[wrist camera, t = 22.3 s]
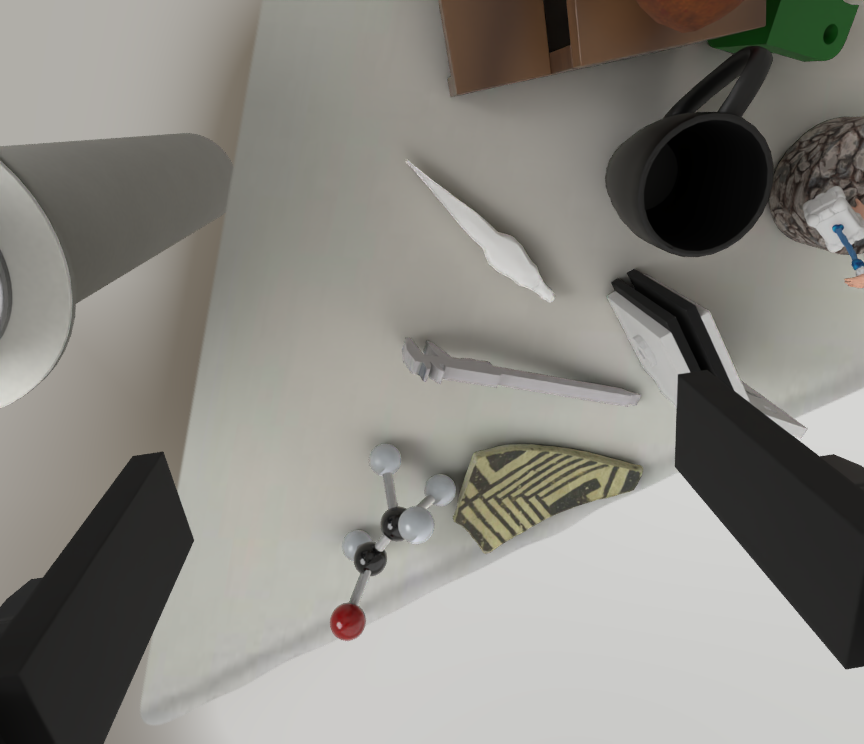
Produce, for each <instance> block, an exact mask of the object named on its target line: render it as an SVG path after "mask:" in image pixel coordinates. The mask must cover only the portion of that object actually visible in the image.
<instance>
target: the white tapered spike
mask: <svg viewBox="0 0 864 744" xmlns="http://www.w3.org/2000/svg"><path fill="white" fill-rule="evenodd" d="M406 163H407V164H408V165H409V166H410V167H411V168H412V169H413V170H414V171H415V172H416V174H417V175H418V176H419V177H420V178H421V179H422V180H423V181H424V183H425V184H426V185H427V186H428V187H429V189H430V190H431V191H432V192H433V194H434V195H435V196H436V198H437V199H438V200H439V201H440V202H441V203H442V204H443V205H444V206H445V208H446V209H447V210H448V211H449V213H450V214H451V215H452V217H453V218H454V219H455V220H456V221H457V223H458V224H459V225H460V226H461V227H462V229H463V230H464V231H465V232H466V233H467V234H468V235H469V236H470V237H471V238H472V239H473V240H474V241H475V242H476V243H477V244H478V245H479V246H481V247H482V248H483V251H484V255H485V257H486V260H487V262H488V264H489V265H490V266H492V267H493V268H494V269H495V270H496V271H497V272H498V273H500V274H502V275H505V276H507V277H508V278H510V279H512V280H514V281H515V283H516V284H517V285H519V286H524V287H526V288H528V289H530V290H533V291H534V292H536V293H537V294H538V295H539V296H540V297H541V298H542V299H544V300H546V301H547V302H552V301H554V299H555V294H554V293H553V292H552V289H551V288H550V287H548V286H547V285H546V284H545V282H544V281H543V280H542V278H541V276H540V274H539V272H538V267H537V265H536V264H534V263H533V262H532V261H531V260H530V258H529V256H528V255H527V253H526V251H525V249H524V247H523V246H522V245H521V244H520V243H519V242H518V241H517V240H516V239H515V238H514V237H513V236H511V235H508V234H505V233H500V232H497V231H496V230H495V229H494V228H493V227H492V226H491V225H490V224H489V223H488V222H487V221H486V220H485V219H484V218H483V217H481V216H480V215H479V214H478V213H477V212H475V211H474V210H473V209H471V208H470V207H469V206H467V205H466V204H465V203H463V202H462V201H460V200H459V199H458V198H456V197H455V196H453V195H452V194H451V193H450V192H448V191H447V190H446V189H445V188H443V187H442V186H441V185H439V184H438V183H436V182H435V181H433V180H432V179H431V178H429V177H428V176H427V175H426V174H424V173H423V172H422V171H421V170H419V169H418V168H417V167H416V166H414V165H413V164H412V163H411V162H410V161H409V160H406Z"/></svg>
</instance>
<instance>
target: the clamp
mask: <svg viewBox="0 0 864 744" xmlns="http://www.w3.org/2000/svg"><path fill="white" fill-rule="evenodd" d="M858 7H859V5H851V4H848V3H846V2H844V1H843V0H766V25H765V26H764V27H761V28H757V29H752V30H748V31H744V32H740V33H736V34H732V35H728V36H723V37H719V38H715V39H711V40H707V41H708V44H709V45H710V46H711V47H713V48H717V49H720V50H724V51H727V52H731V53H734V54H735V53H736V52H738V51H739V50H741V49H743V48H745V47H747V46H761V47H763V48H766V49H767V50H769V51H770V52H771V53H776V54H780V55H783V56H787V57H790V58H793V59H797V60H800V61H804V62H807V61H827V60H830V59H832V58H833V57H835V56H836V55H837V54H838V53H839V52H840V50H841V49H842V47H843V46H844V44H845V41H846V39H847V36H848V34H849V31H850V28H851V26H852V23H853V20H854V18H855V15H856V12H857V10H858Z"/></svg>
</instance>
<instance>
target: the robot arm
mask: <svg viewBox="0 0 864 744" xmlns="http://www.w3.org/2000/svg"><path fill="white" fill-rule="evenodd" d="M11 311H12V284H11V279H10V274H9V270H8V267H7V264H6V261H5V259H4V257H3V254H2V252H1V250H0V339H1V338H2V336H3V334H4V332H5V330H6V328H7V325H8V323H9V320H10V315H11ZM675 467H676V469H677V470H678V471H679V472H680V473H681V474H682V476H683V477H684V478H685V479H686V480H687V481H688V483H689V484H690V485H691V486H692V488H693V489H694V490H695V491H696V492H697V493H698V495H699V496H700V497H701V498H702V499H703V501H704V502H705V503H706V504H707V505H708V506H709V508H710V509H711V510H712V511H713V512H714V514H715V515H716V516H717V517H718V518H719V520H720V521H721V522H722V523H723V524H724V526H725V527H726V528H727V529H728V530H729V531H730V533H731V534H732V535H733V536H734V537H735V539H736V540H737V541H738V542H739V543H740V544H741V546H742V547H743V548H744V549H745V550H746V552H747V553H748V554H749V555H750V556H751V558H752V559H753V560H754V561H755V562H756V563H757V565H758V566H759V567H760V568H761V569H762V571H763V572H764V573H765V574H766V575H767V576H768V578H769V579H770V580H771V581H772V582H773V584H774V585H775V586H776V587H777V588H778V589H779V591H780V592H781V593H782V594H783V595H784V597H785V598H786V599H787V600H788V601H789V602H790V604H791V605H792V606H793V607H794V608H795V610H796V611H797V612H798V613H799V615H800V616H801V617H802V618H803V619H804V620H805V621H806V623H807V624H808V625H809V626H810V628H811V629H812V630H813V631H814V632H815V633H816V635H817V636H818V637H819V638H820V639H821V641H822V642H823V643H824V644H825V645H826V646H827V648H828V649H829V650H830V651H831V652H832V654H833V655H834V656H835V657H836V658H837V660H838V661H839V662H840V663H841V664H842V665H843V667H844V668H845V669H851V668H857V667H863V666H864V467H862V466H860V465H858V464H856V463H853V462H851V461H848V460H846V459H844V458H841V457H839V456H836V455H834V454H833V455H827V456H820V457H819V456H818V455H817V454H816V453H814V452H813V451H812V450H810V449H809V448H808V447H806V446H805V445H804V444H803V443H801V442H800V441H799V440H797V439H796V438H795V437H794V436H792V435H791V434H790V433H788V432H787V431H786V430H785V429H783V428H782V427H781V426H779V425H778V424H777V423H775V422H774V421H773V420H772V419H770V418H769V417H768V416H766V415H765V414H764V413H763V412H761V411H760V410H759V409H757V408H756V407H755V406H753V405H752V404H751V403H750V402H748V401H747V400H746V399H744V398H743V397H742V396H740V395H739V394H738V393H737V392H735V391H734V390H733V389H731V388H730V387H729V386H727V385H726V384H725V383H724V382H722V381H721V380H720V379H718V378H717V377H716V376H715V375H713V374H712V373H711V372H709V371H708V370H703V371H697V372H690V373H683V374H678V384H677V415H676V447H675ZM193 542H194V539H193V536H192V533H191V530H190V527H189V524H188V521H187V518H186V516H185V513H184V510H183V507H182V504H181V501H180V498H179V495H178V493H177V490H176V487H175V484H174V481H173V479H172V475H171V472H170V470H169V467H168V464H167V461H166V458H165V455H164V452H157V453H151V454H144V455H137V456H133V457H132V458H131V459H130V461H129V462H128V463H127V465H126V466H125V467H124V469H123V470H122V471H121V473H120V474H119V476H118V477H117V478H116V479H115V481H114V482H113V484H112V485H111V486H110V488H109V489H108V491H107V492H106V493H105V494H104V496H103V497H102V499H101V500H100V501H99V502H98V504H97V505H96V507H95V508H94V509H93V511H92V512H91V514H90V515H89V516H88V518H87V519H86V520H85V521H84V523H83V524H82V525H81V527H80V528H79V530H78V531H77V532H76V534H75V535H74V536H73V538H72V539H71V541H70V542H69V543H68V544H67V546H66V547H65V549H64V550H63V551H62V553H61V554H60V555H59V557H58V558H57V559H56V561H55V562H54V563H53V565H52V566H51V567H50V569H49V570H48V572H47V573H46V574H45V576H44V577H43V578H37V579H31V580H30V581H28V582H27V583H26V584H25V585H24V586H22V587H21V588H20V589H19V590H18V591H16V592H15V593H14V594H13V595H11V596H10V597H9V598H8V599H6V601H5V602H4V603H3V604H2V606H1V607H0V744H104V741H105V739H106V737H107V735H108V732H109V730H110V728H111V726H112V723H113V721H114V719H115V717H116V714H117V712H118V710H119V708H120V705H121V703H122V701H123V699H124V696H125V694H126V692H127V689H128V687H129V685H130V683H131V681H132V678H133V676H134V674H135V672H136V670H137V667H138V665H139V663H140V660H141V658H142V656H143V654H144V651H145V649H146V647H147V645H148V643H149V640H150V638H151V636H152V634H153V631H154V629H155V627H156V625H157V622H158V620H159V618H160V616H161V613H162V611H163V609H164V607H165V604H166V602H167V600H168V598H169V595H170V593H171V591H172V589H173V587H174V584H175V582H176V580H177V578H178V575H179V573H180V571H181V569H182V566H183V564H184V562H185V560H186V557H187V555H188V553H189V551H190V548H191V546H192V544H193Z"/></svg>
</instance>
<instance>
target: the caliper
mask: <svg viewBox="0 0 864 744" xmlns="http://www.w3.org/2000/svg"><path fill="white" fill-rule="evenodd" d="M423 352H424V354H423V353H422V351H421V350H420V349H419V348H418V346H417V345H416V344H415V343H414V341H413V340H412V338H405V341H404V345H403V348H402V355H403V362H404V364H405V365H406V366H407V368H408V369H409V371H410V372H411V373H412V374H417V375H420V377H421V378H422V380H423V381H424V382H426V381H427V378H428V376H429V377H430V378H431V379H432V380H434V381H435V382H437V383H439V384H441V382H442V379H446V380H452V381H458V382H465V383H471V384H478V385H484V386H490V387H497V386H504V387H510V388H516V389H522V390H528V391H534V392H540V393H547V394H553V395H559V396H565V397H571V398H577V399H583V400H590V401H596V402H602V403H608V404H614V405H621V406H627V407H628V405H637V403H638V401H639V399H640V396H641V394H639V393H634V392H628V391H626V390H625V389H623V388H617V387H612V386H606V385H600V384H594V383H588V382H582V381H577V380H571V379H565V378H559V377H553V376H548V375H542V374H536V373H530V372H525V371H519V370H513V369H508V368H502V367H496V366H493V365H492V364H491V363H490V362H488V361H479V360H475V359H470V358H461V359H459V358H454V357H451V356H450V355H448V354H447V353H446V352H444V351H443V350H442V349H440V348H439V347H438V346H436V345H435V344H434V343H432V342H430V341H426V345H425V348H424V351H423Z"/></svg>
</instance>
